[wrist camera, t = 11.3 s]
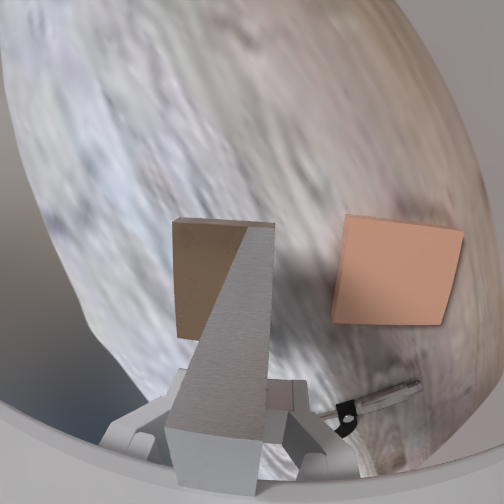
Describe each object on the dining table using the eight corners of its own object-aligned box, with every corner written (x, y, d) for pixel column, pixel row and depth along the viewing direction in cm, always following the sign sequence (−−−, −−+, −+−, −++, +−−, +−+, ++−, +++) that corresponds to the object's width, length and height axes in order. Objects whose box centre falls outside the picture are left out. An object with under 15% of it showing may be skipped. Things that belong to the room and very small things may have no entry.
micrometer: (302, 445, 32) (303, 460, 30) (288, 411, 30) (289, 427, 28) (417, 412, 30) (423, 425, 27) (417, 373, 28) (425, 387, 25)
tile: (349, 217, 22) (463, 231, 21) (343, 213, 24) (452, 226, 23) (333, 323, 25) (440, 324, 24) (329, 312, 27) (432, 315, 26)
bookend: (180, 217, 19) (-18, 359, 4) (275, 223, 19) (262, 440, 4) (183, 326, 21) (86, 515, 7) (266, 335, 21) (244, 555, 6)
